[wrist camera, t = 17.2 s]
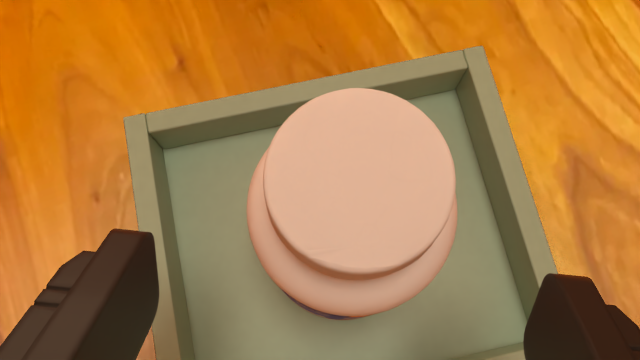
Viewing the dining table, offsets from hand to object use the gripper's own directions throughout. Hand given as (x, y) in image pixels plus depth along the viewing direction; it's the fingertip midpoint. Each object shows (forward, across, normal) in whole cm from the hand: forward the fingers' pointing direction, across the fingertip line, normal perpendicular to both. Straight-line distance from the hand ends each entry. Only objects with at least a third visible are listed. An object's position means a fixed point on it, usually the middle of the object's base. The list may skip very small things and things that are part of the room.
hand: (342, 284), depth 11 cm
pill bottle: (+8, 0, +5) cm, 9 cm away
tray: (+8, 0, +5) cm, 10 cm away
